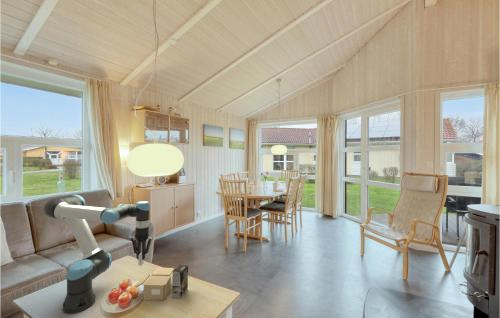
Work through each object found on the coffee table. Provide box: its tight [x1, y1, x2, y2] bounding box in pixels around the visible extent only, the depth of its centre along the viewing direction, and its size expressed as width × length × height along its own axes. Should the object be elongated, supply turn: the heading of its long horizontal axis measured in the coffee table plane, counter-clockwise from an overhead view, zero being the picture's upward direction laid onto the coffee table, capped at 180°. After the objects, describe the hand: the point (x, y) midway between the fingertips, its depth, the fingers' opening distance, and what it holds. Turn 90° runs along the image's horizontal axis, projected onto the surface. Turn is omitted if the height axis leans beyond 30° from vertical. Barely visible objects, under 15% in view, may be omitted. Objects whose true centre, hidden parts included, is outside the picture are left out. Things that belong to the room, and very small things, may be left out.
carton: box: [143, 267, 175, 301], centre depth 146 cm, size 13×20×10 cm, turn 0°
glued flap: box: [133, 274, 151, 288], centre depth 141 cm, size 1×10×9 cm
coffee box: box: [171, 264, 189, 300], centre depth 142 cm, size 9×6×16 cm
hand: (140, 264), depth 141 cm, fingers closed
